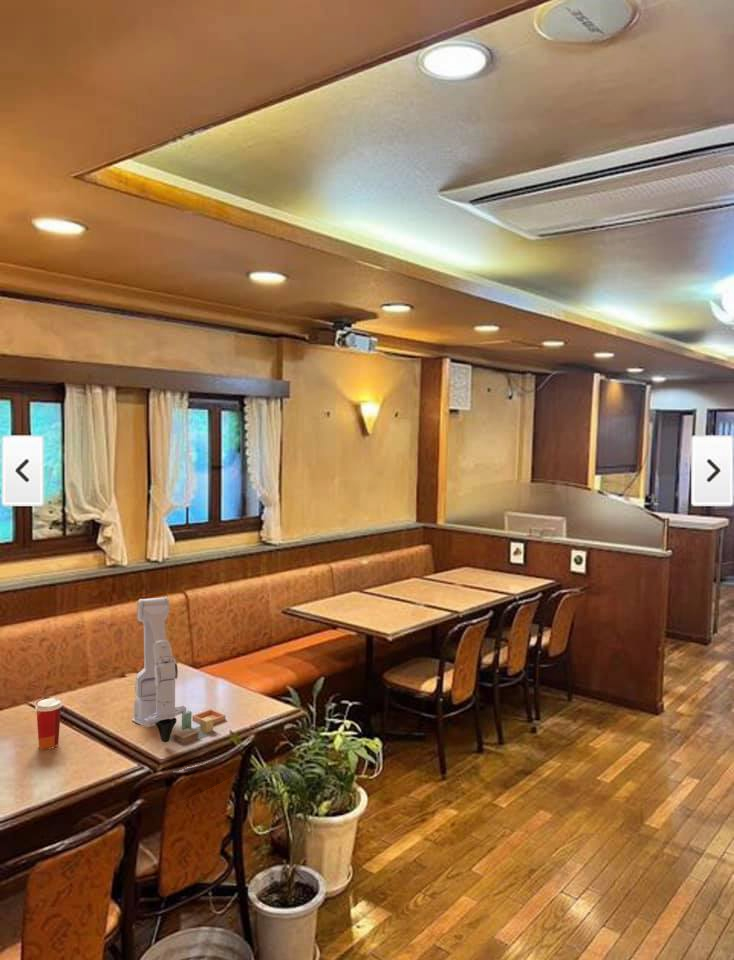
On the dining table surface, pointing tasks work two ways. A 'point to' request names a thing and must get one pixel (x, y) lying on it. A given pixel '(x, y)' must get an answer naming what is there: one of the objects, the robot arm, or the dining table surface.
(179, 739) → the brown rectangular block
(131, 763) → the dining table surface
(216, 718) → the tray
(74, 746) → the dining table surface
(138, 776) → the dining table surface
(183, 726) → the dowel
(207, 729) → the bench
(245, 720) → the dining table surface
